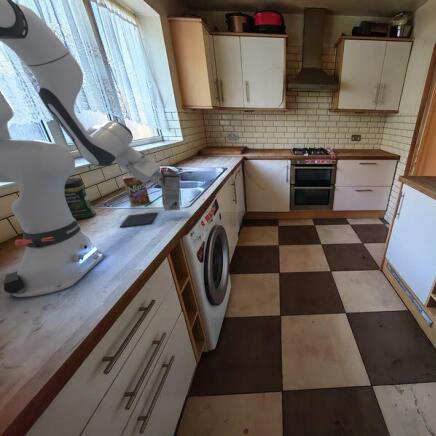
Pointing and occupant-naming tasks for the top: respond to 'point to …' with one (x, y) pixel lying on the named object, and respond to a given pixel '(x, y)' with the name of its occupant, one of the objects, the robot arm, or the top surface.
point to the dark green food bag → (78, 199)
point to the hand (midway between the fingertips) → (163, 181)
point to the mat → (139, 219)
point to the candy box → (136, 191)
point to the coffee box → (170, 190)
